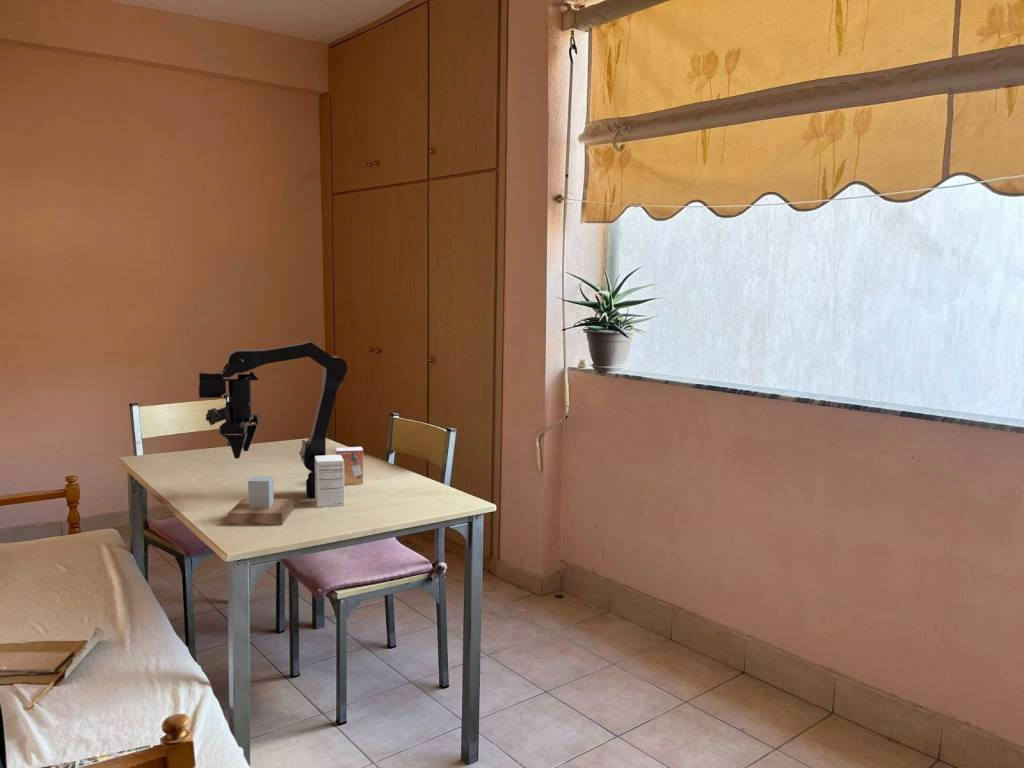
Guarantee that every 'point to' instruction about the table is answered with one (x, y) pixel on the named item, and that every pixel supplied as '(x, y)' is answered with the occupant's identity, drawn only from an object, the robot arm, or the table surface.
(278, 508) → the walnut base
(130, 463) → the table surface
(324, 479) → the supplement box
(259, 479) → the grey block
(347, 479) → the small box
